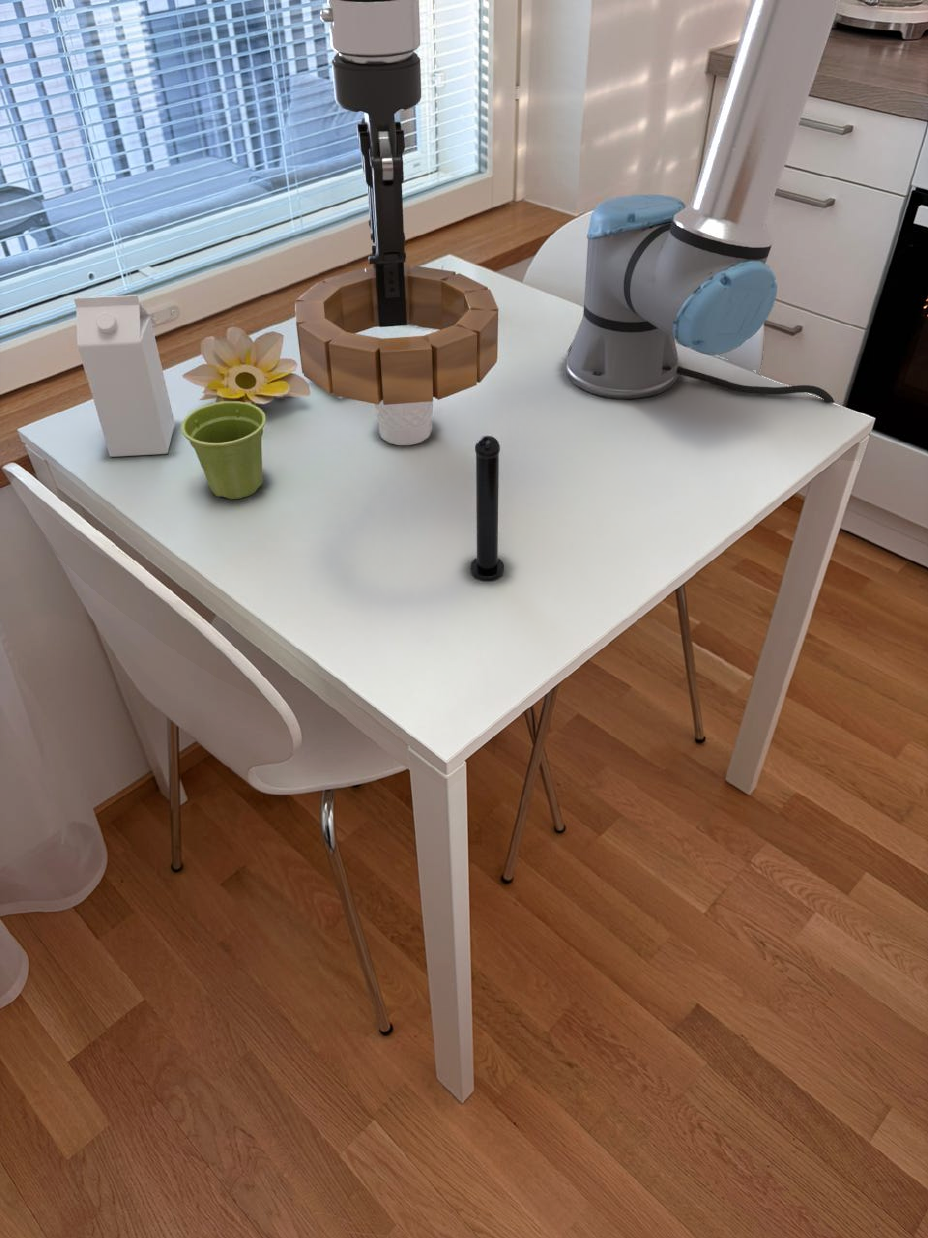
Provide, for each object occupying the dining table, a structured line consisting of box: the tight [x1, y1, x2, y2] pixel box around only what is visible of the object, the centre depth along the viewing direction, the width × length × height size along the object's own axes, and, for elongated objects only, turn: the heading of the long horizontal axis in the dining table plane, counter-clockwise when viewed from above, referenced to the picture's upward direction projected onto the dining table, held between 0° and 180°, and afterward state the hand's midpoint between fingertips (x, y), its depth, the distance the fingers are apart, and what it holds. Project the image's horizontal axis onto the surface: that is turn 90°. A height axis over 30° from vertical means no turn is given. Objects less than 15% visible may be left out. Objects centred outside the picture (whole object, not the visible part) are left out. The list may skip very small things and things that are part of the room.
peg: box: [469, 435, 505, 582], centre depth 100 cm, size 4×4×16 cm
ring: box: [294, 264, 499, 405], centre depth 92 cm, size 18×18×5 cm
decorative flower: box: [181, 325, 312, 406], centre depth 128 cm, size 15×11×10 cm
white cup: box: [373, 400, 434, 446], centre depth 123 cm, size 8×8×10 cm
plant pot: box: [180, 401, 267, 500], centre depth 115 cm, size 9×9×9 cm
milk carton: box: [73, 294, 176, 457], centre depth 119 cm, size 7×7×19 cm
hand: (391, 316), depth 99 cm, fingers closed on ring, 3 cm apart
